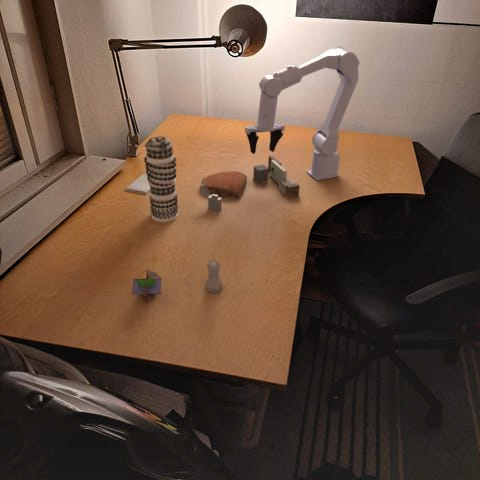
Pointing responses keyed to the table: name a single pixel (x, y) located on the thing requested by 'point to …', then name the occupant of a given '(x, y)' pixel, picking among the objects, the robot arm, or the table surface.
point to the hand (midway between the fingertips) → (262, 151)
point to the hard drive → (140, 185)
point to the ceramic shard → (225, 183)
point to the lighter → (212, 199)
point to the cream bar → (277, 172)
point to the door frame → (286, 183)
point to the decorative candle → (161, 179)
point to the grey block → (260, 173)
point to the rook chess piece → (213, 277)
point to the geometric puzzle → (147, 284)
